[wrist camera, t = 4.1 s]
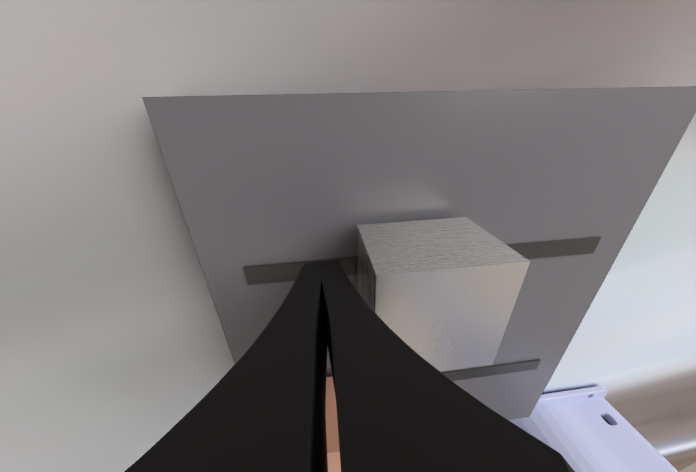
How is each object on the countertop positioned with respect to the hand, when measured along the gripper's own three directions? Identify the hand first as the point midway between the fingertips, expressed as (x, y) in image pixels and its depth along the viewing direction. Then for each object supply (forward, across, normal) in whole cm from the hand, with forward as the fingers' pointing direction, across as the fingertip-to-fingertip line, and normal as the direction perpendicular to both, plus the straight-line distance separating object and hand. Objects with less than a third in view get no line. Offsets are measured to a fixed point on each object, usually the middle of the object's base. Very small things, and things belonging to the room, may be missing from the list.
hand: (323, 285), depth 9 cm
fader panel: (+3, -5, +4) cm, 7 cm away
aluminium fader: (+1, -3, 0) cm, 3 cm away
